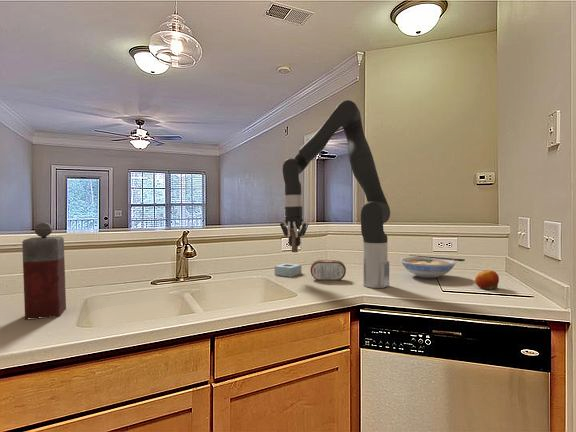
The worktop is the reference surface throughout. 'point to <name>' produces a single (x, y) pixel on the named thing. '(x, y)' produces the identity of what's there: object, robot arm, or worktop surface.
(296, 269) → the light blue square box
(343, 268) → the tin
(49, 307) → the decanter
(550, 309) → the worktop surface
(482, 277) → the fruit
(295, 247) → the dowel
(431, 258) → the ramen bowl
